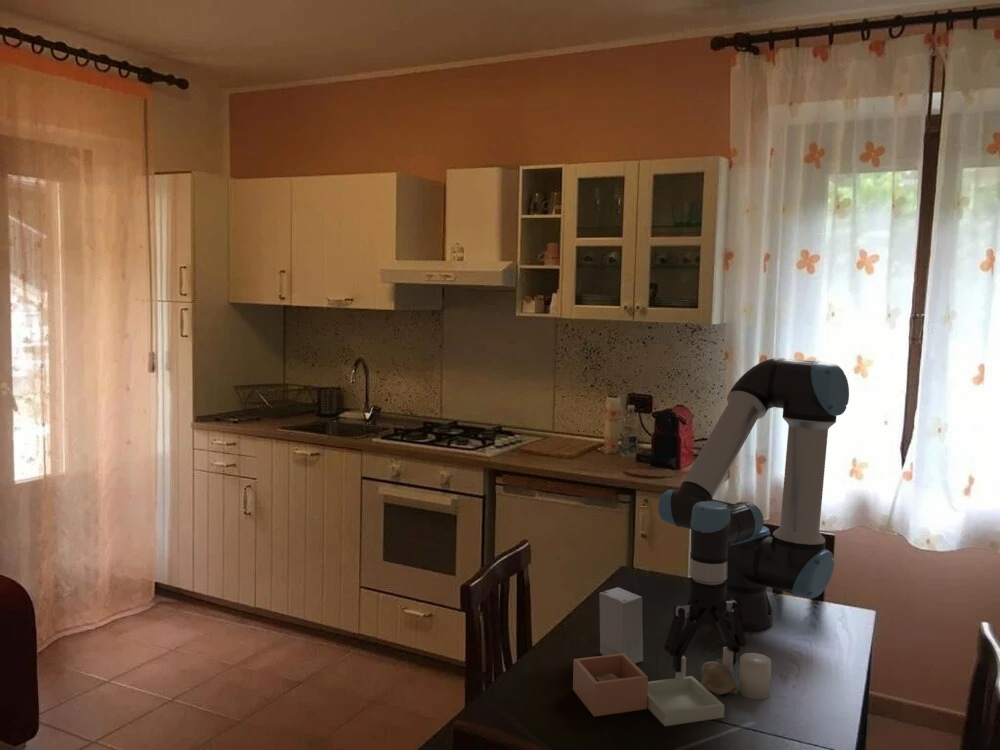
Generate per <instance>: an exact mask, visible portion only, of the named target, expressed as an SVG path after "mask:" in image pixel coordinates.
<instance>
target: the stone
mask: <svg viewBox="0 0 1000 750" xmlns="http://www.w3.org/2000/svg"><path fill="white" fill-rule="evenodd" d="M700 672H701V677H700V678H701V679H700V680H701V681H700V682H699V683H700V684H702V685H703V686H704V687H705V688H706V689H707V690H708V691H709V692H711V693H714V694H716V695H718V696H721V695H724V694H734V693H736V692H737V691H738V685H737V684H736V681H735V679H734V677H733V673H732V674H731V673H730V671H729V670H728V669H727V668H726V666H725V665H723V662H722V663H721V662H717V661H713V660H711V661H706V662H704V663H703V664H702V666H701V670H700Z"/></svg>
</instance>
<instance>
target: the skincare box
mask: <svg viewBox="0 0 1000 750" xmlns="http://www.w3.org/2000/svg"><path fill="white" fill-rule="evenodd" d="M598 598H599V651H600V655H601V656H603V655H612V654H620V653H625V654H626V655H627V656H628V657H629V658H630V659H631V660H632V661H633V662H634V663H635V664H638V663H640V662H643V661H644V641H643V637H644V636H643V633H644V632H643V631H644V630H643V624H644V623H643V596H640V595H637V594H636V593H632V592H631V591H629V590H625V589H623V588H621V587H615V588H611V589H607V590H603V591H601V592H599V597H598Z"/></svg>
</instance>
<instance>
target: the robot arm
mask: <svg viewBox="0 0 1000 750" xmlns="http://www.w3.org/2000/svg"><path fill="white" fill-rule="evenodd" d="M849 386H850V385H849V382H848V377H847V375H846V374H845V372H844V369H842V368H841V367H840V366H839V365H838V364H835V363H832V362H826V361H822V360H821V361H820V360H806V359H805V360H804V359H803V360H802V359H792V358H783V357H782V358H781V357H774V358H769V359H766V360H764V361H761V362H759V363H757V364H756V365H753V367H751V368H750V369H748V370H747V371H746V372H745V373H743V374H742V376H740V378H739V379H738V380H737V381H736V382H735V383H734V385H732V388H731V389H730V391H729V393H728V394H727V397H726V400H727V404H726V407H725V408H724V410H723V411H722V414H721V415H720V417H719V419H718V420H717V422H716V423H715V425H714V427H713V429H712V431H711V432H710V434H709V435H708V438H707V439H706V441H705V443H704V444H703V447H702V448H701V450H700V452H699V454H698V455H697V457H696V458H695V460H694V462H693V463H692V465H691V466H690V469H689V471H688V472H687V474H686V476H685V477H684V479H683V481H682V483H681V484H680V486H679V488H678V489H668V490H666V491H664V492H663V493H661V495H660V497H659V499H658V500H659V501H658V504H657V512H658V515H659V517H660V520H662V521H663V522H664V523H667V524H670V525H672V526H675V527H676V528H677V527H678V528H684V529H689V530H690V552H689V553H690V555H689V574H688V575H689V576H690V577H689V579H688V599H689V600H688V602H687V604H686V605H681V606H680V605H679V604H675V605H674V606H673V618H672V622H671V623H670V628H669V631H668V635H667V637H666V641H665V645H664V648H663V649H664V651H665V652H666V653H667V654H668V655H669V656H671V657H672V669H673V670H674V671H675V678H680V677H687V675H686V673H687V672H686V671H687V670H686V669H687V658H686V656H684V654H685V652H687V649H688V647H689V646H690V644H691V642H692V641H693V638H694V636H695V634H696V633H697V631H698V630H699V629H700V628H701V627H702V626H704V625H705V626H706V625H714V624H715V626H716V627H717V629H718V631H719V633H720V635H721V636H722V638H723V640H724V642H725V644H726V646H723V647H722V664H723V665H725V666H726V668H727V669H728V670H729V671H730V673H731V674H732V675H733V671H734V669H733V668H734V666H736V664H737V653H739V652H740V651H741V648H744V647H746V645H747V644H746V643H747V642H746V638H745V634H744V631H745V632H755V631H764V630H766V629H768V628H770V627H771V626H772V625H773V621H774V618H773V617H774V613H773V609H772V605H771V602H770V598H769V595H768V591H767V589H768V588H770V589H775V590H777V591H781V592H784V593H788V594H790V595H791V594H792V595H793V596H795V597H802V598H805V599H815V598H817V597H819V596H820V595H821V594H822V593H823V592H824V591H825V590H826V589H827V586H828V585H829V584H830V581H831V579H832V576H833V574H834V573H833V572H834V567H835V558H834V555H833V552H831V551H830V550H828V549H826V538H825V537H824V536H823V535H822V534H821V533H820V529H821V528H820V527H821V515H822V514H821V513H822V505H823V504H822V502H823V491H824V481H825V480H824V478H825V469H826V459H827V458H826V457H827V445H828V434H829V429H830V428H831V427H832V426H833V425H834V424H836V423H837V416H841V415H842V414H844V413H845V411H846V410H847V405H848V404H849V400H850V399H849V398H850V387H849ZM772 408H778V409H782V419H783V420H784V421H785V422H786V423H787V426H788V428H787V429H788V431H787V440H786V443H787V444H786V453H785V464H784V477H783V478H784V479H783V488H782V500H781V501H782V502H781V512H780V513H781V515H780V524H779V525H780V526H779V527H778V528H777V529H775V530H774V531H773V532H772V536H771V531H770V529H769V527H767V526H764V522H765V521H764V516H763V513H762V510H761V509H760V508H759V507H758V506H757V505H755V503H753V502H750V501H739V502H736V503H731V502H727V501H722V500H719V499H718V500H717V499H714V497H715V495H716V494H717V492H718V490H719V488H720V487H721V486H722V483H723V482H724V479H725V478H726V476H727V474H728V472H729V470H730V469H731V467H732V465H733V464H734V462H735V460H736V458H737V457H738V456H739V453H740V451H741V450H742V447H743V445H744V444H745V443H746V440H747V438H748V437H749V434H750V433H751V431H752V430H753V427H754V426H755V424H756V422H757V420H759V419H763V418H764V417H765V416H766V414H767V412H768V410H770V409H772ZM767 587H768V588H767ZM688 613H689V615H688ZM686 618H687V619H686ZM685 622H686V624H685ZM730 629H731V631H730ZM731 632H732V633H731Z"/></svg>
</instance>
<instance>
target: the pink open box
mask: <svg viewBox="0 0 1000 750" xmlns="http://www.w3.org/2000/svg"><path fill="white" fill-rule="evenodd" d="M636 664H637V663H634V662H633V661H632V660H631V659H630V658H629V657H628V656H627V655H626V654H625V653H620V654H612V655H598V656H597V655H596V656H589V657H581V658H574V659H573V668H572V671H573V672H572V673H573V674H572V675H573V676H572V691H573V692H574V693H575V694H576V696H577V697H578V698H579V700H580V701H581V702H582V704H583V705H584V706H585V708H586V709H588V711H589V712H590V713H591V714H592V716H593V717H595V718H596V717H600V716H609V715H613V714H623V713H628V712H635V711H645V710H647V709H648V708H647V696H648V682H649V676H648V675H646V673H645V672H644V671H643V670H642V669H640V667H639V666H638V665H636ZM610 673H612V674H613V675H615V676H617V677H618V678H620V679H614V680H606V681H598V682H597V681H596V680H595V678H597V677H600V676H603V675H607V674H610Z"/></svg>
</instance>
